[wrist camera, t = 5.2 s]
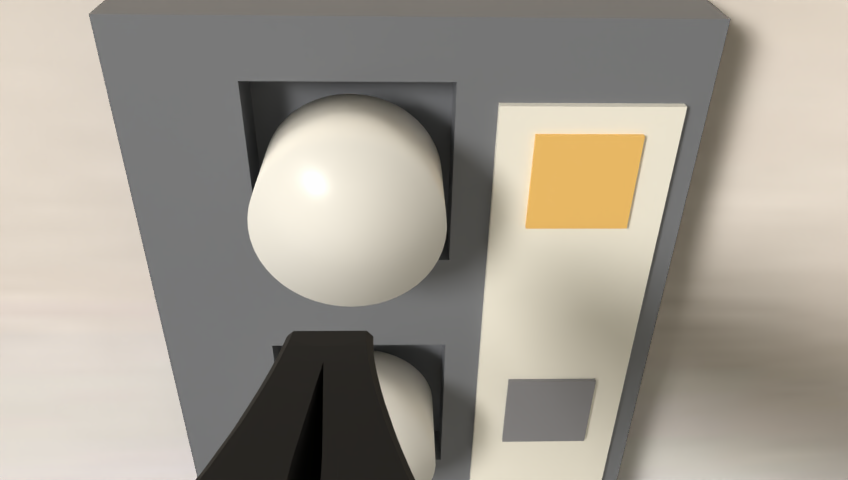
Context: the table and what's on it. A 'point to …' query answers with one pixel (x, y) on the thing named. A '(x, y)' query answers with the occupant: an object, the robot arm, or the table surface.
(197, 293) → the button board
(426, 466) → the middle button
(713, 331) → the table surface
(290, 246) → the button
